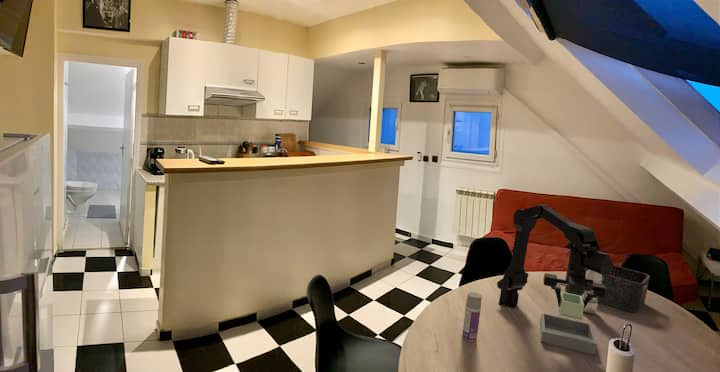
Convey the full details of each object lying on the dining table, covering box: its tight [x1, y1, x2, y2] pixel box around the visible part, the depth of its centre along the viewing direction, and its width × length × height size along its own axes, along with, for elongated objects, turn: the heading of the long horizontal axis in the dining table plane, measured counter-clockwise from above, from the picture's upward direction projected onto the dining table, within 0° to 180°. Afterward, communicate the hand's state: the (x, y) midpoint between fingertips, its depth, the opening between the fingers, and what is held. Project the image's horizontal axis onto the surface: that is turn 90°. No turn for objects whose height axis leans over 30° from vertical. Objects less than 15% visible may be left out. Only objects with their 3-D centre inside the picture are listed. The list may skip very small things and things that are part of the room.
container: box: [461, 291, 483, 343], centre depth 135 cm, size 5×5×15 cm
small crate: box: [558, 291, 584, 321], centre depth 139 cm, size 6×9×5 cm
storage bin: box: [564, 264, 651, 314], centre depth 182 cm, size 29×19×13 cm
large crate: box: [539, 312, 598, 357], centre depth 141 cm, size 16×16×4 cm
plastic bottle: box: [582, 270, 604, 314], centre depth 163 cm, size 6×7×20 cm
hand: (570, 308), depth 139 cm, fingers closed on small crate, 6 cm apart
